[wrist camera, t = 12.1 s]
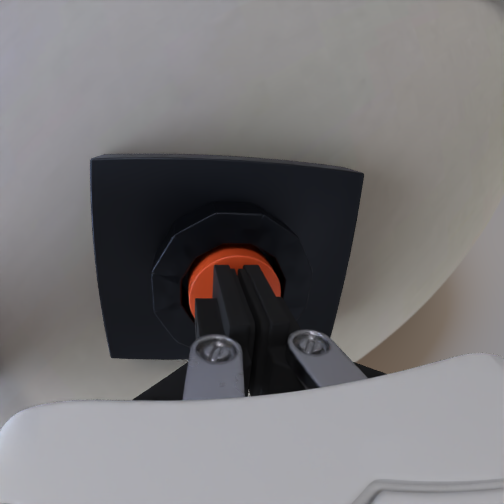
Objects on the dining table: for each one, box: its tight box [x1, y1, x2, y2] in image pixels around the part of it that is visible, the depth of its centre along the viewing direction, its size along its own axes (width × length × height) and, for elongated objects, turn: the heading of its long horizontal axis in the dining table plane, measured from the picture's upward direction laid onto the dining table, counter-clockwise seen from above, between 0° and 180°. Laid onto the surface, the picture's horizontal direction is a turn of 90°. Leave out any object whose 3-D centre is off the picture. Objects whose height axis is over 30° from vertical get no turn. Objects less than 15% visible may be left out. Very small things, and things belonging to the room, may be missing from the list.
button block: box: [90, 154, 364, 360], centre depth 14 cm, size 12×10×4 cm
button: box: [188, 244, 281, 318], centre depth 13 cm, size 4×4×2 cm
